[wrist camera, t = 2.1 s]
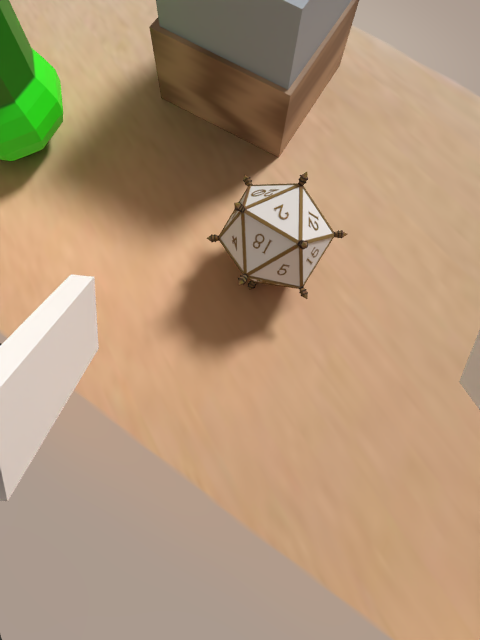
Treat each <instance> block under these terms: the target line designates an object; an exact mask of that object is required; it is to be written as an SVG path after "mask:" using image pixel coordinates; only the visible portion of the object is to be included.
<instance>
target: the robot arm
mask: <svg viewBox="0 0 480 640" xmlns="http://www.w3.org/2000/svg"><path fill="white" fill-rule="evenodd" d="M98 349H99V347H98V331H97V314H96V298H95V281H94V277H91V276H81V275H70V276H69V277H68V278H67V279H66V280H65V281H64V282H63V283H62V284H61V285H60V286H59V287H58V288H57V289H56V290H55V291H54V292H53V293H52V294H51V295H50V296H49V297H48V298H47V299H46V300H45V301H44V302H43V303H42V304H41V305H40V306H39V307H38V308H37V309H36V310H35V311H34V312H33V313H32V314H31V315H30V316H29V317H28V318H27V319H26V320H25V321H24V322H23V323H22V324H21V325H20V326H19V327H18V328H17V329H16V330H15V331H14V333H13V334H12V335H11V336H10V337H9V338H8V339H7V340H6V341H5V342H4V343H3V344H0V501H8V500H9V498H10V496H11V495H12V493H13V491H14V490H15V488H16V486H17V485H18V483H19V481H20V480H21V478H22V476H23V475H24V473H25V471H26V469H27V468H28V466H29V464H30V463H31V461H32V459H33V458H34V456H35V454H36V453H37V451H38V449H39V448H40V446H41V444H42V443H43V441H44V439H45V438H46V436H47V434H48V432H49V431H50V429H51V427H52V426H53V424H54V422H55V421H56V419H57V417H58V416H59V414H60V412H61V411H62V409H63V407H64V406H65V404H66V402H67V401H68V399H69V397H70V395H71V394H72V392H73V391H74V389H75V387H76V385H77V384H78V382H79V380H80V379H81V377H82V375H83V374H84V372H85V370H86V369H87V367H88V365H89V364H90V362H91V360H92V359H93V357H94V355H95V354H96V352H97V350H98ZM459 382H460V384H461V385H462V386H463V388H464V389H465V390H466V392H467V393H468V395H469V396H470V397H471V399H472V400H473V402H474V403H475V404H476V406H477V407H478V408H479V410H480V330H479V333H478V336H477V338H476V341H475V343H474V346H473V348H472V351H471V353H470V356H469V358H468V361H467V363H466V366H465V368H464V371H463V374H462V376H461V379H460V381H459ZM0 640H2V639H1V635H0Z"/></svg>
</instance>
